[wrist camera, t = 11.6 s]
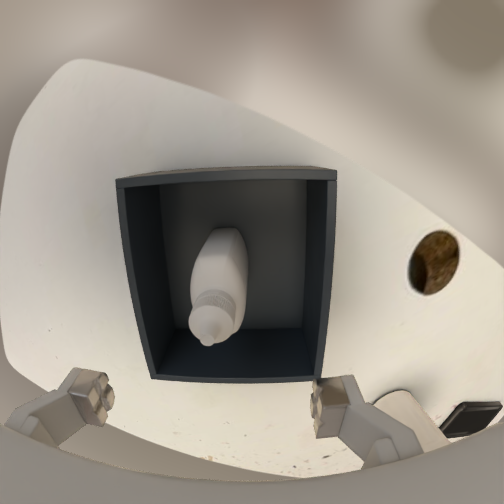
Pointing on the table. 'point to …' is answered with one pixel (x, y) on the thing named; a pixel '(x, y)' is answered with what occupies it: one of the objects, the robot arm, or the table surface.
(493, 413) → the phone
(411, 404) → the cup
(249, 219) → the bin
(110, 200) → the table surface
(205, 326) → the eye dropper bottle
